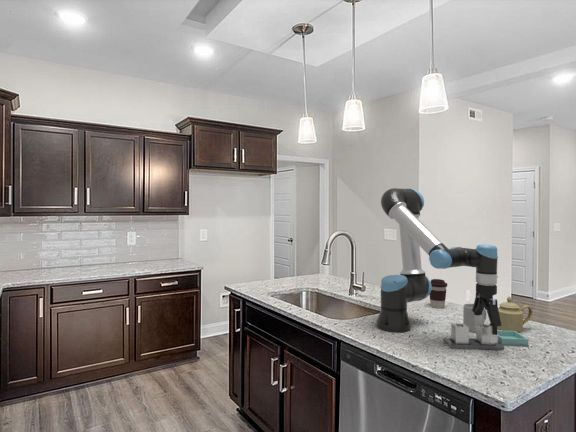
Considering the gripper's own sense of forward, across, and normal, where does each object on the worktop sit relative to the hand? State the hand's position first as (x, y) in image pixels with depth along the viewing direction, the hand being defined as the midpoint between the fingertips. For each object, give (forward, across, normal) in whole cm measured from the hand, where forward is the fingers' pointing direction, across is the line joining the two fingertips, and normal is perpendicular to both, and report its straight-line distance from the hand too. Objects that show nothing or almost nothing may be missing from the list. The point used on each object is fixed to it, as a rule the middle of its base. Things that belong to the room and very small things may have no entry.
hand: (485, 336), depth 153 cm
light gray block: (+4, 0, +10) cm, 11 cm away
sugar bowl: (+4, +24, -22) cm, 33 cm away
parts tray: (+4, +6, -12) cm, 14 cm away
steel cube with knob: (+4, 0, 0) cm, 4 cm away
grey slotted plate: (+4, 0, +5) cm, 6 cm away
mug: (+4, +21, -5) cm, 22 cm away
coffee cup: (+4, +60, 0) cm, 60 cm away
